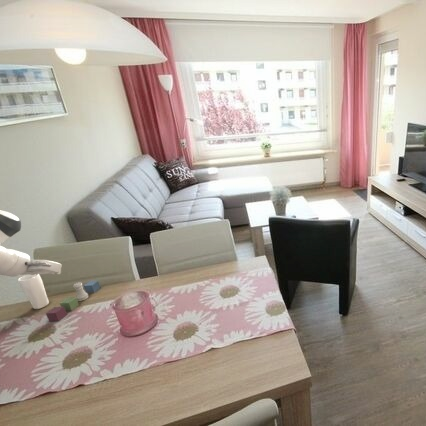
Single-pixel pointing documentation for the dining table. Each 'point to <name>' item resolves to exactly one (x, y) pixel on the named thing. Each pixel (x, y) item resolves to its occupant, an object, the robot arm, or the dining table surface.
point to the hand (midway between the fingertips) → (47, 272)
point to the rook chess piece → (80, 292)
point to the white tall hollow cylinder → (34, 290)
